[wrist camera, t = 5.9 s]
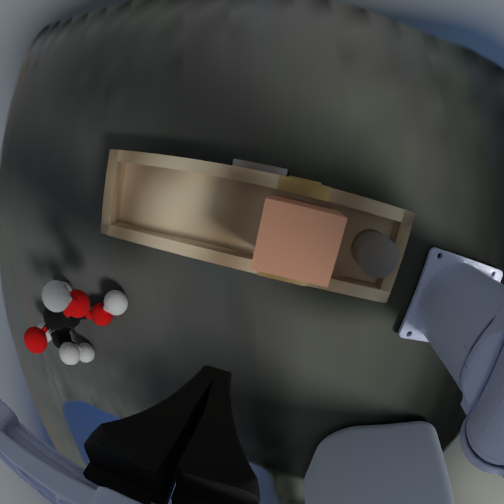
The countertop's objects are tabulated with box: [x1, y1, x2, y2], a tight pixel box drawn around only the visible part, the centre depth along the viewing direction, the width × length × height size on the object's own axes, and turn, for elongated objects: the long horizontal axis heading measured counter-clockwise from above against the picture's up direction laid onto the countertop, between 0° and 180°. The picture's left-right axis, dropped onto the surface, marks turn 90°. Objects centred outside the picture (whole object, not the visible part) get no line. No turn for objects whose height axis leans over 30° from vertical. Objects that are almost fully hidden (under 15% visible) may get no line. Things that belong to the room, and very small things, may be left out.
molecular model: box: [24, 280, 128, 365], centre depth 21 cm, size 16×8×10 cm, turn 141°
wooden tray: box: [101, 149, 415, 303], centre depth 18 cm, size 20×7×5 cm, turn 78°
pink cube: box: [250, 194, 347, 287], centre depth 15 cm, size 4×4×4 cm
